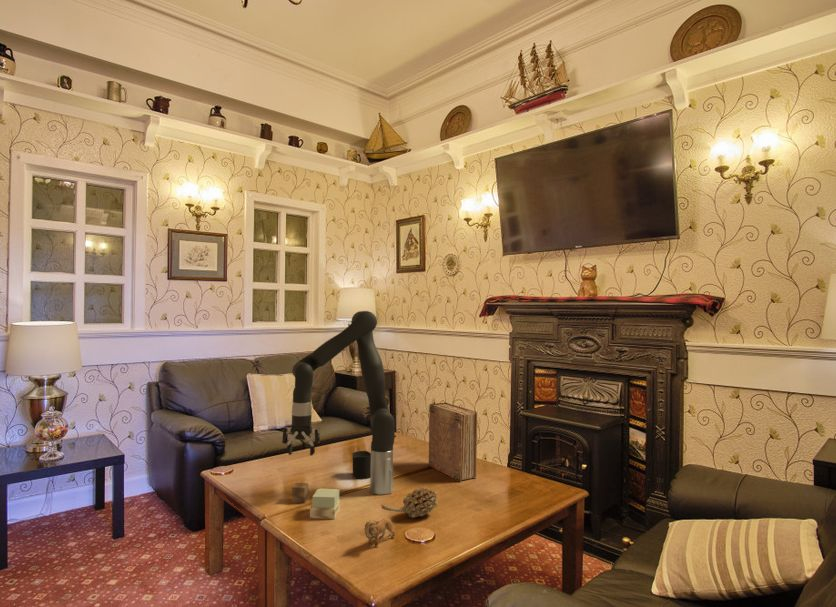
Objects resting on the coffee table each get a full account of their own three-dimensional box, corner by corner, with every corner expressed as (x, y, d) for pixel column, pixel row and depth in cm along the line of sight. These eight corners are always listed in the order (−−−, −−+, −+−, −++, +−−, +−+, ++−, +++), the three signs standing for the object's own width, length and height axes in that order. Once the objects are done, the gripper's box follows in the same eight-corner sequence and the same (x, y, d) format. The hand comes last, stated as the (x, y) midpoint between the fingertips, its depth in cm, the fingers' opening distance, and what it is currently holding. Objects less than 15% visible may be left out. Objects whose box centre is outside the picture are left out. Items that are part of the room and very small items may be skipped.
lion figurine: (373, 554, 155) (374, 525, 155) (359, 549, 157) (360, 521, 157) (398, 535, 168) (399, 508, 168) (385, 531, 170) (385, 505, 170)
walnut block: (308, 498, 198) (308, 483, 198) (304, 503, 193) (304, 487, 193) (295, 498, 199) (296, 482, 199) (291, 502, 194) (292, 487, 194)
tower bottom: (340, 510, 188) (340, 499, 188) (334, 520, 179) (334, 509, 179) (316, 509, 189) (316, 498, 189) (309, 519, 180) (309, 508, 180)
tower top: (339, 499, 188) (339, 489, 188) (334, 508, 180) (334, 497, 180) (318, 499, 188) (318, 488, 188) (312, 507, 180) (312, 496, 180)
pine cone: (430, 508, 191) (431, 482, 191) (442, 517, 182) (442, 490, 182) (376, 517, 182) (376, 490, 182) (385, 528, 173) (386, 499, 173)
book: (476, 478, 224) (477, 411, 224) (460, 482, 219) (461, 413, 220) (444, 463, 246) (445, 402, 246) (428, 466, 241) (429, 403, 241)
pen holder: (374, 473, 230) (375, 451, 230) (370, 480, 220) (371, 457, 220) (354, 472, 231) (355, 450, 231) (349, 479, 221) (350, 456, 221)
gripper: (322, 411, 199) (321, 452, 199) (287, 410, 200) (286, 451, 200) (317, 415, 192) (316, 458, 192) (280, 414, 193) (279, 456, 193)
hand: (300, 454), depth 196 cm, fingers open, 8 cm apart
